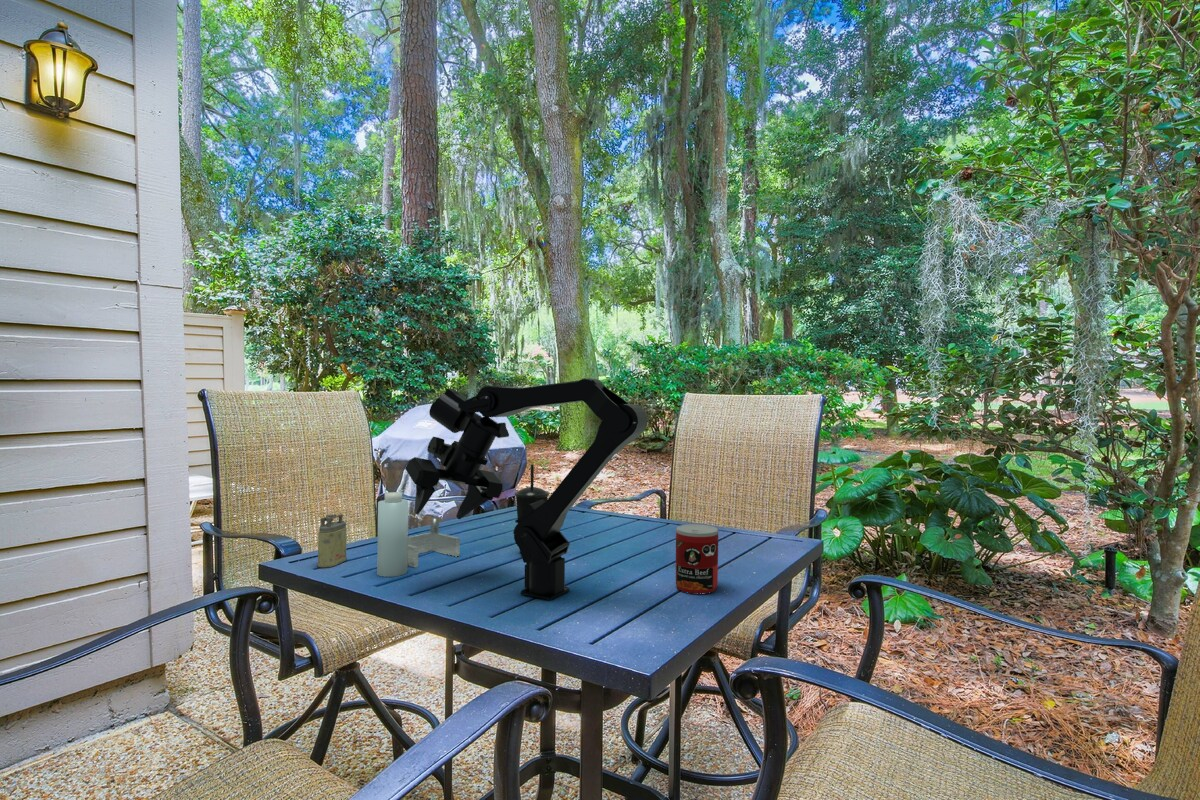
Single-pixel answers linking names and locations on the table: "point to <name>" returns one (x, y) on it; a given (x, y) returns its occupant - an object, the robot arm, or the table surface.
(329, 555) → the lighter
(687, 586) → the canned food
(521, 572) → the table surface
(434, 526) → the hook bracket
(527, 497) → the drinking cup
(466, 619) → the table surface
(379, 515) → the bottle
